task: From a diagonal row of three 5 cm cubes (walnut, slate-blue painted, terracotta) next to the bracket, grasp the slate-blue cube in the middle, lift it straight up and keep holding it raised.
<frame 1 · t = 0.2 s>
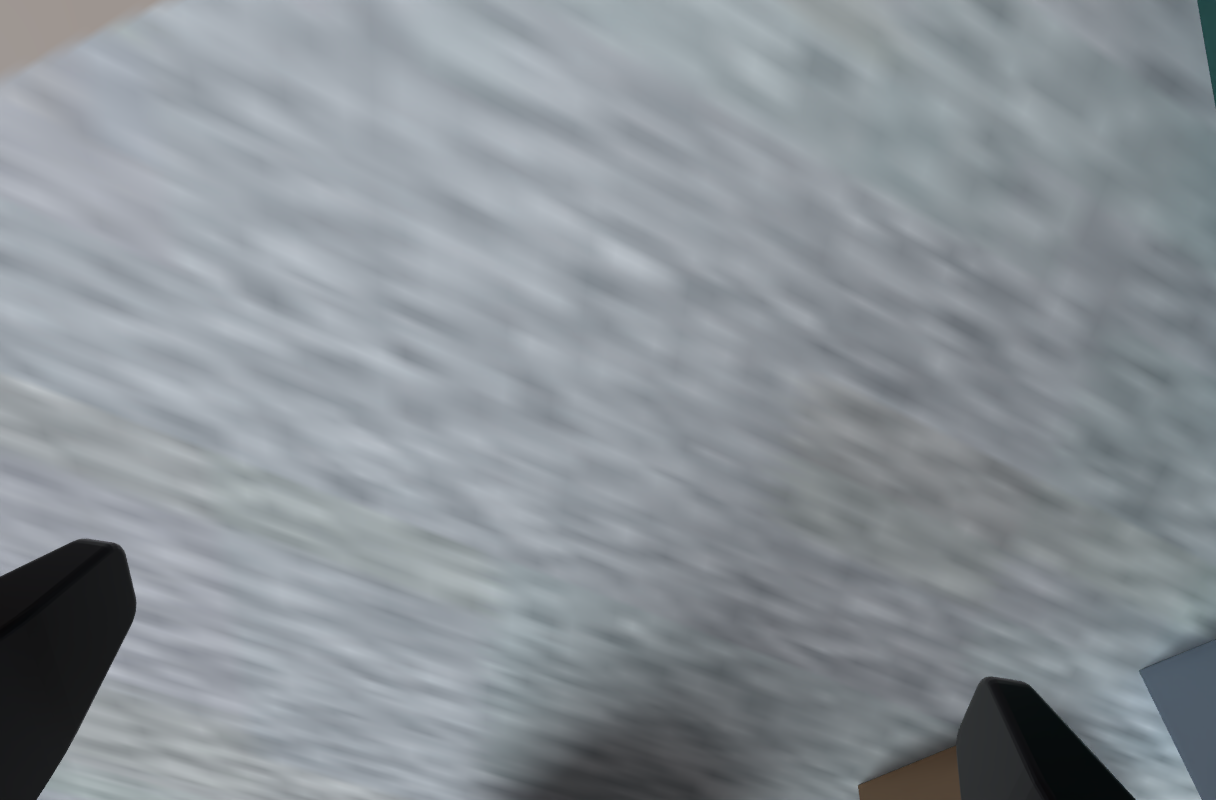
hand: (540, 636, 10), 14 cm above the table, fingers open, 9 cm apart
walnut cube: (961, 797, 32), on the table
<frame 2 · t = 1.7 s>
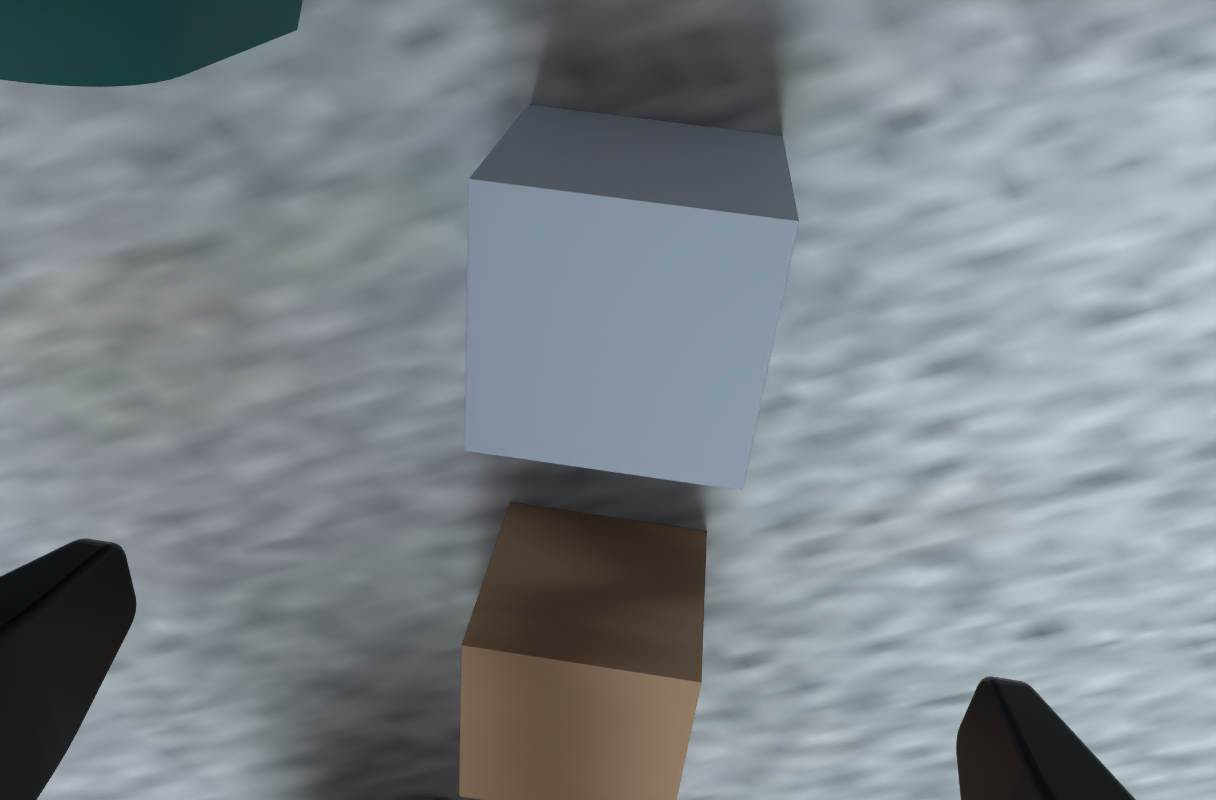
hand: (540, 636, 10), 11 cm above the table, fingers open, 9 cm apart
blue cube: (641, 238, 19), on the table
walnut cube: (599, 588, 24), on the table
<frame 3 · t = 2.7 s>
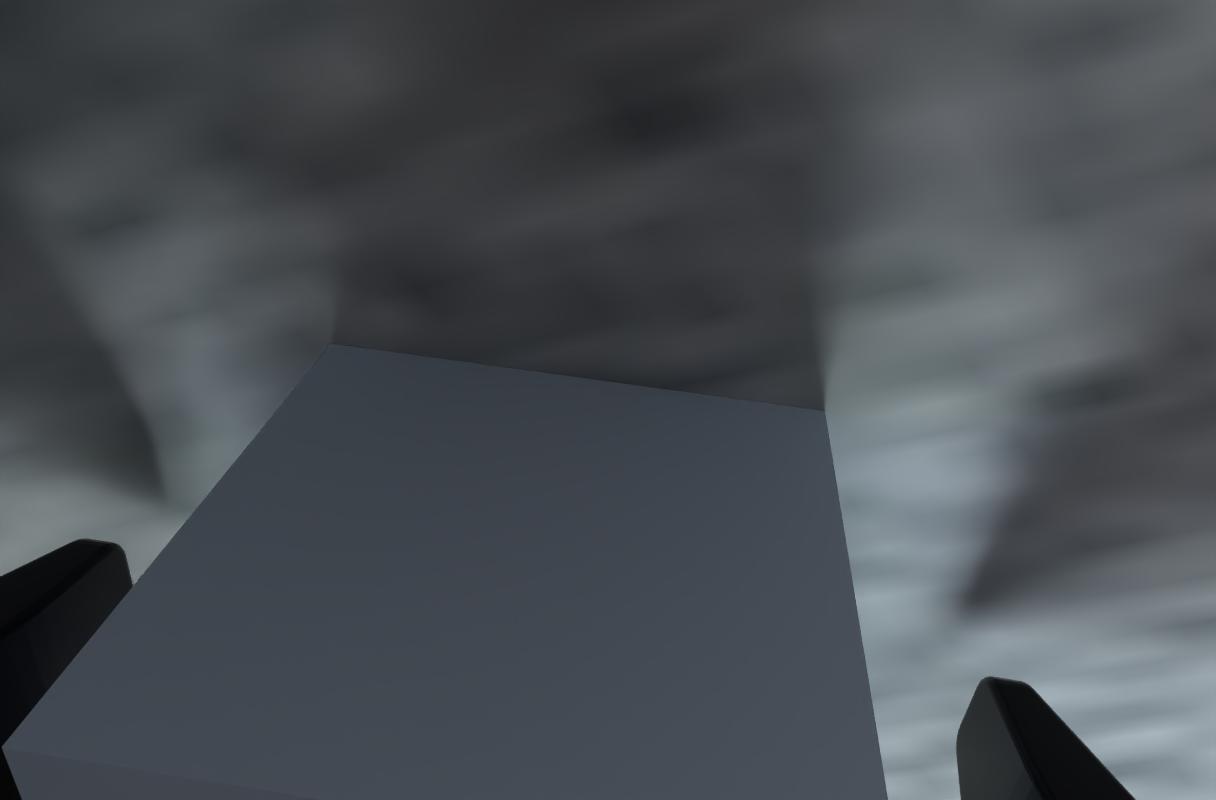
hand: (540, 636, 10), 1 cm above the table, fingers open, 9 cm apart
blue cube: (560, 561, 11), on the table
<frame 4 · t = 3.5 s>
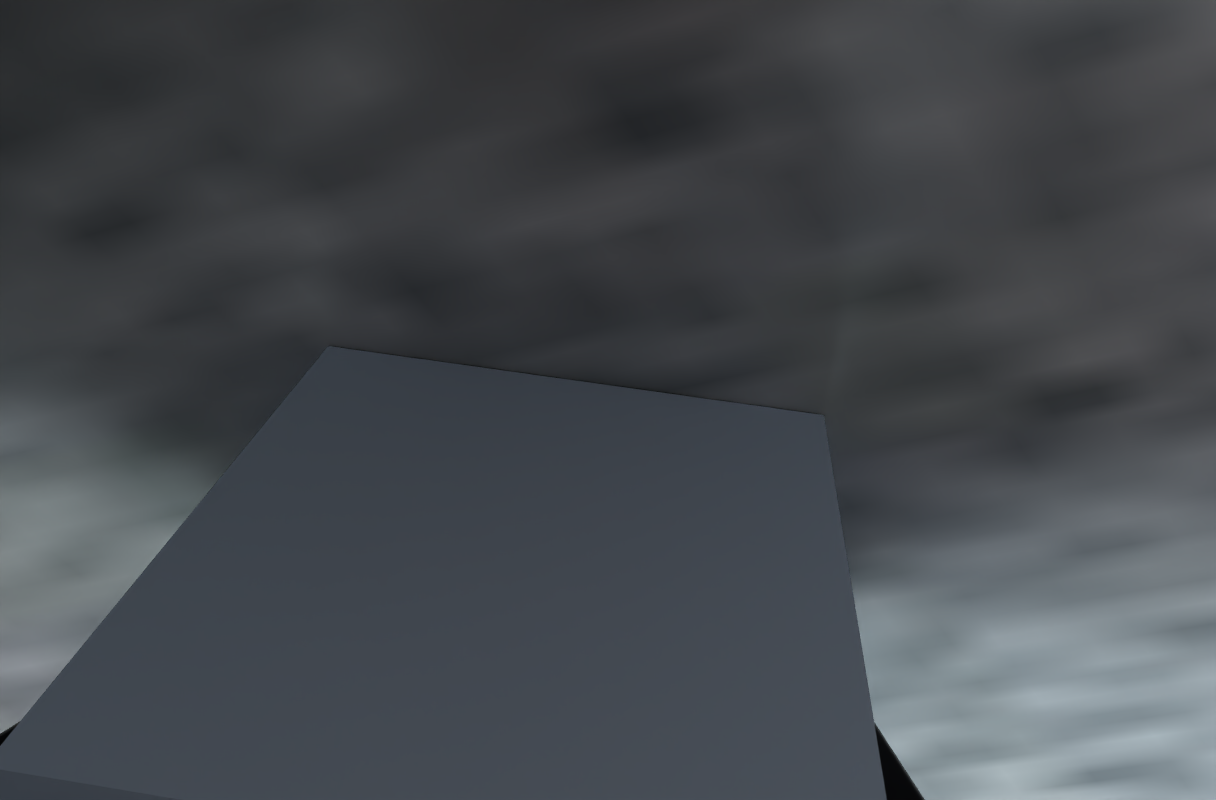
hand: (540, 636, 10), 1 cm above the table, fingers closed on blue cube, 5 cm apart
blue cube: (556, 569, 10), on the table, touching gripper
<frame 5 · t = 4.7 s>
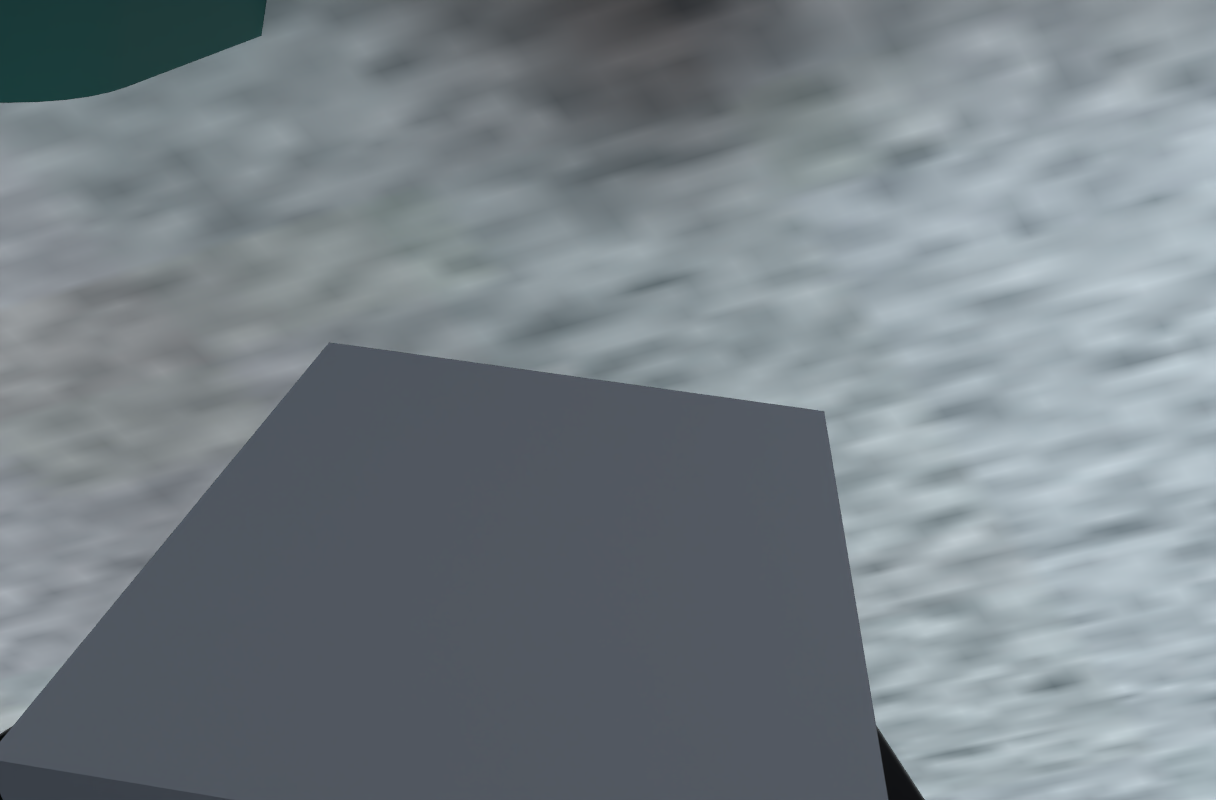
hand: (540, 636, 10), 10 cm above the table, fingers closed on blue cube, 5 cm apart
blue cube: (557, 565, 10), point 9 cm above the table, touching gripper
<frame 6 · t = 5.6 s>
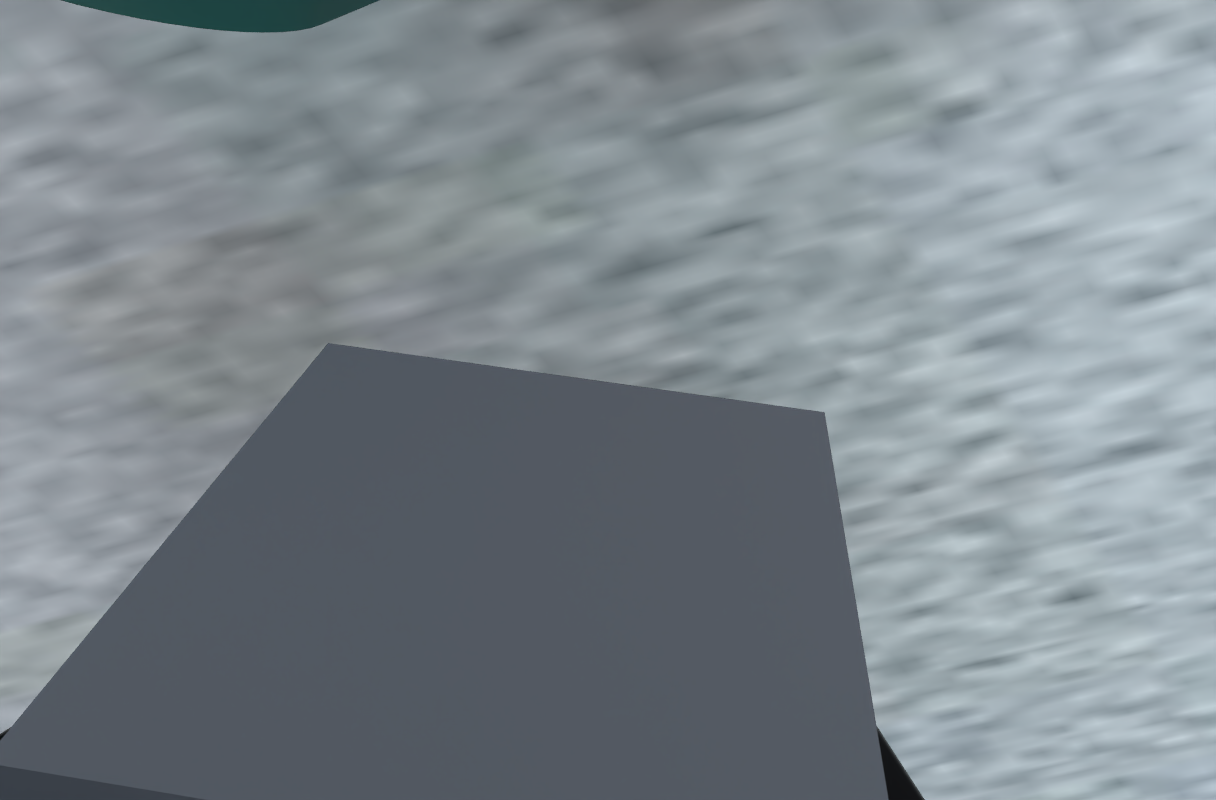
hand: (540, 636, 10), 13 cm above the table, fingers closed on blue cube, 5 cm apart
blue cube: (556, 567, 10), point 12 cm above the table, touching gripper
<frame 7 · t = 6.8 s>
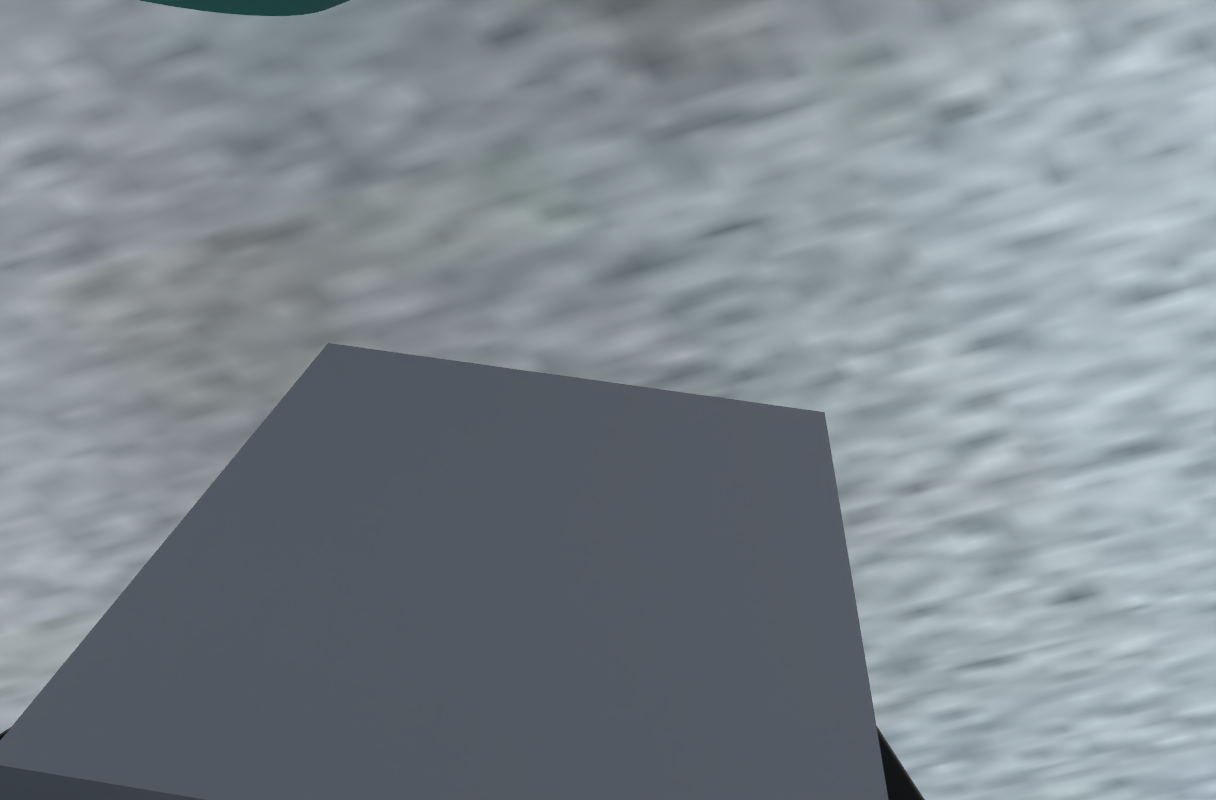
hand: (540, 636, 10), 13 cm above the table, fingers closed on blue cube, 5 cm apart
blue cube: (556, 567, 10), point 12 cm above the table, touching gripper
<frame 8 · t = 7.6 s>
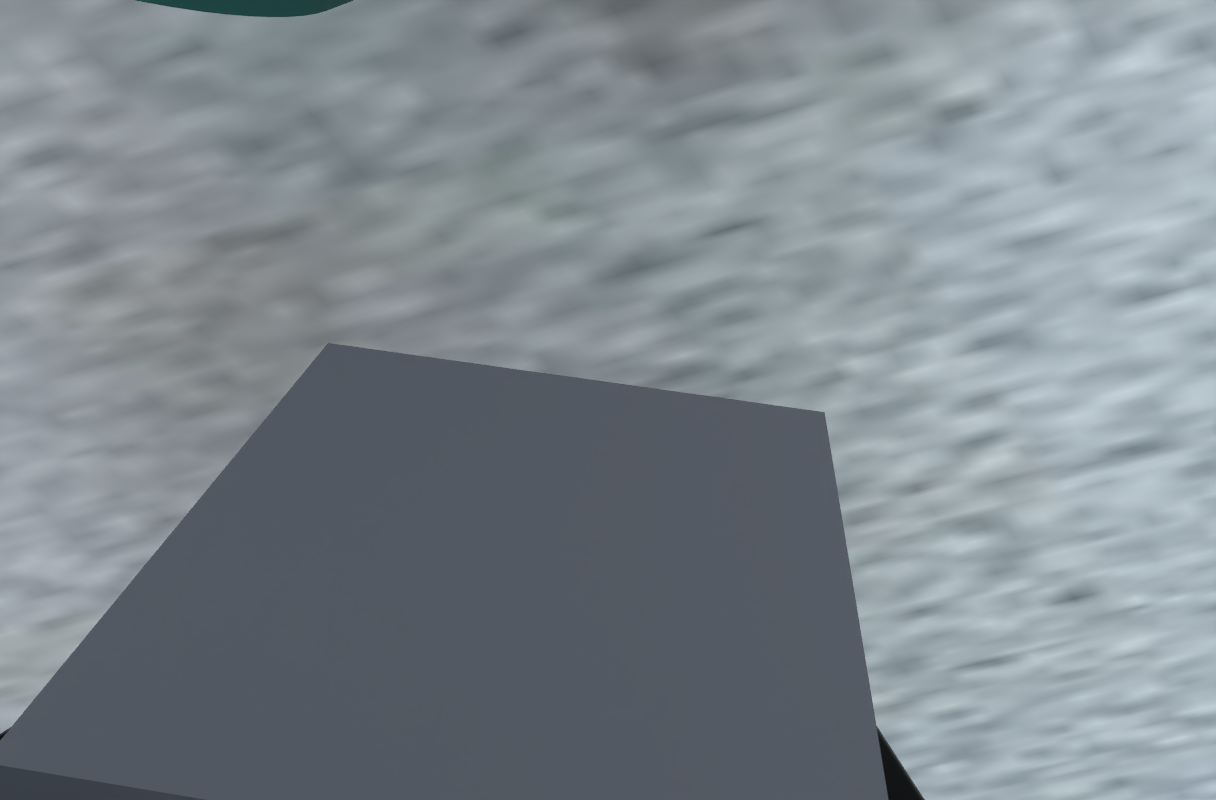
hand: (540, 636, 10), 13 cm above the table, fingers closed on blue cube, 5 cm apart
blue cube: (556, 567, 10), point 12 cm above the table, touching gripper
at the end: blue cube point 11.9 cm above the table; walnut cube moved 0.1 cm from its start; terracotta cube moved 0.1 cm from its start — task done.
